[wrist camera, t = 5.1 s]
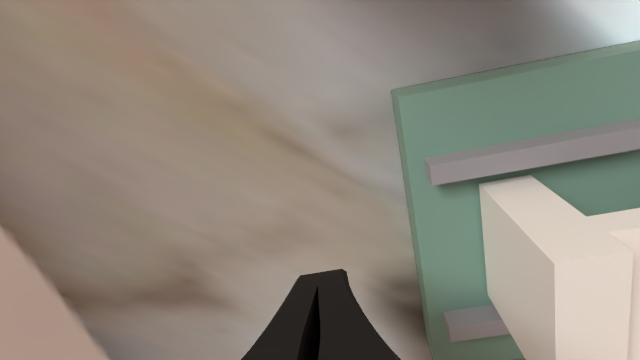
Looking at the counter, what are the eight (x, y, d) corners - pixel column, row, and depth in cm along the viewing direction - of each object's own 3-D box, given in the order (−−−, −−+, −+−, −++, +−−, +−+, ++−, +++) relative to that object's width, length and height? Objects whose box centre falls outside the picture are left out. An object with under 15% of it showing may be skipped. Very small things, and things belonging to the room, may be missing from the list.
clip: (636, 156, 12) (800, 225, 8) (629, 272, 13) (767, 386, 9) (479, 184, 13) (554, 263, 8) (487, 294, 14) (556, 411, 10)
